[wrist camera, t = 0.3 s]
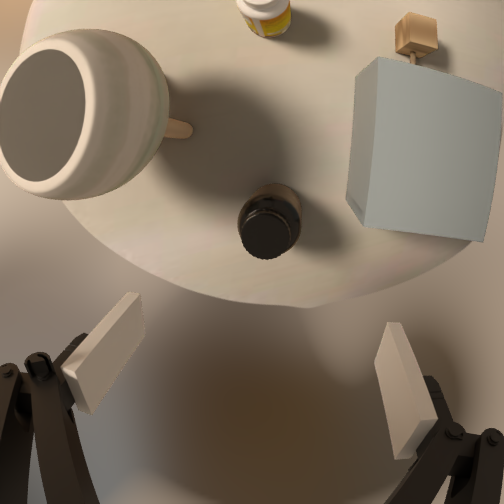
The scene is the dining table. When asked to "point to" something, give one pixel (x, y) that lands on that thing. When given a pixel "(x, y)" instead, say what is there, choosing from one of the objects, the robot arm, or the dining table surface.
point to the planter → (83, 114)
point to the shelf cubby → (423, 151)
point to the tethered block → (416, 36)
